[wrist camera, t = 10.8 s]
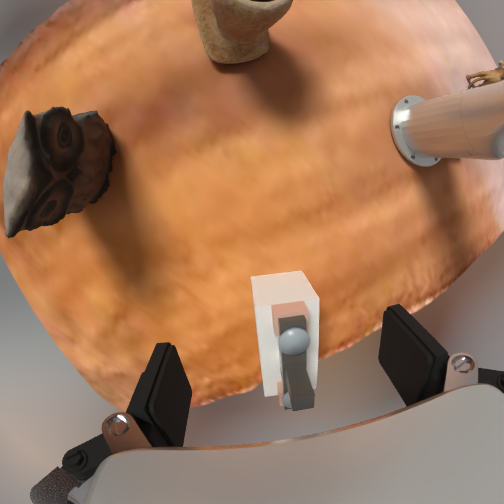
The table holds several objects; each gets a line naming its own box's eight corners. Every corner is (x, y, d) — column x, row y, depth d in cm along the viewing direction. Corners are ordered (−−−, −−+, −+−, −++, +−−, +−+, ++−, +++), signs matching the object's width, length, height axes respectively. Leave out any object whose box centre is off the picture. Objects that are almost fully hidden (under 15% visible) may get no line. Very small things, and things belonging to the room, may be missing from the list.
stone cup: (287, 58, 33) (311, 9, 18) (209, 72, 33) (195, 24, 19) (262, -9, 29) (272, -64, 14) (191, 3, 29) (176, -51, 14)
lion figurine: (485, 63, 31) (509, 57, 22) (495, 83, 32) (520, 78, 24) (461, 77, 33) (489, 70, 24) (472, 100, 34) (501, 95, 26)
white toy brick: (301, 270, 42) (325, 307, 30) (303, 351, 47) (320, 399, 35) (250, 276, 42) (256, 317, 30) (259, 357, 47) (266, 408, 35)
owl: (111, 113, 34) (31, 83, 14) (140, 183, 37) (63, 197, 18) (55, 155, 34) (-32, 157, 15) (80, 220, 38) (-4, 255, 19)
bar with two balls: (302, 306, 32) (322, 348, 24) (303, 391, 37) (316, 435, 28) (273, 310, 32) (284, 354, 24) (279, 394, 37) (288, 440, 28)
